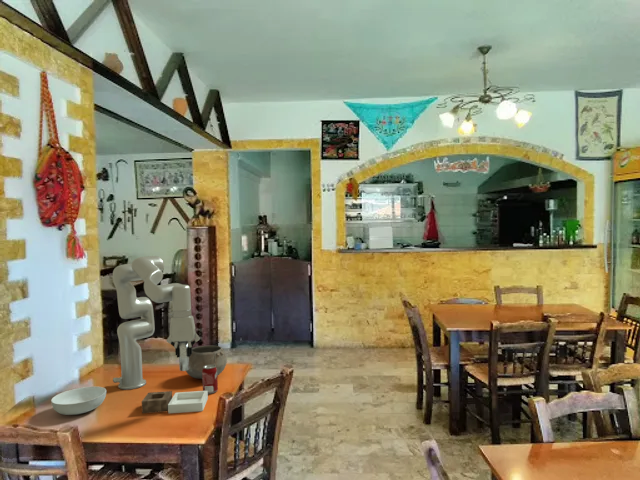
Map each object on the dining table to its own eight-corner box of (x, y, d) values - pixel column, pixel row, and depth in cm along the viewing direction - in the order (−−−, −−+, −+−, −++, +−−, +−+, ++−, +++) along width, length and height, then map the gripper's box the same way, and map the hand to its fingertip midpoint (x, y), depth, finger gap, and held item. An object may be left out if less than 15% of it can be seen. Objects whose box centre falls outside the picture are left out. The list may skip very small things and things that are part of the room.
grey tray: (168, 413, 185) (167, 405, 185) (175, 400, 199) (175, 392, 198) (202, 411, 186) (202, 402, 186) (207, 398, 200) (207, 390, 200)
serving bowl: (112, 398, 203) (111, 383, 203) (99, 417, 183) (99, 401, 183) (61, 403, 199) (61, 388, 199) (43, 423, 178) (42, 406, 178)
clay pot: (182, 375, 234) (181, 346, 233) (222, 368, 242) (221, 341, 242) (188, 387, 214) (187, 356, 214) (231, 380, 223) (230, 350, 223)
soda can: (214, 394, 204) (213, 368, 204) (200, 394, 205) (199, 368, 205) (220, 389, 211) (219, 364, 210) (206, 388, 212) (206, 363, 212)
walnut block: (142, 413, 186) (141, 401, 185) (148, 403, 196) (148, 392, 195) (166, 411, 187) (166, 399, 186) (172, 402, 197) (171, 391, 196)
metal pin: (178, 371, 189) (177, 340, 189) (180, 368, 193) (179, 338, 193) (188, 370, 190) (187, 340, 189) (190, 367, 194) (188, 337, 193)
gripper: (159, 316, 187) (161, 360, 187) (200, 314, 188) (202, 357, 188) (164, 313, 194) (166, 355, 194) (203, 311, 195) (205, 352, 196)
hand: (184, 355), depth 191 cm, fingers closed on metal pin, 4 cm apart
